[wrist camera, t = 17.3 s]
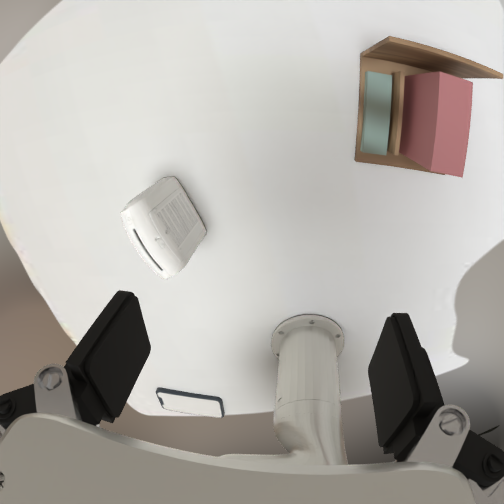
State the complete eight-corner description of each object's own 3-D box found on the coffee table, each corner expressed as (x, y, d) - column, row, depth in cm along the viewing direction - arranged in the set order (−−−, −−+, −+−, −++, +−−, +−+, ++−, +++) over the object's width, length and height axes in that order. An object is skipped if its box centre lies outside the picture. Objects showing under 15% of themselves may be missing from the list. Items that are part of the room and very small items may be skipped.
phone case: (222, 394, 63) (156, 385, 65) (220, 400, 62) (154, 390, 63) (225, 413, 67) (164, 404, 69) (224, 418, 66) (162, 409, 68)
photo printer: (151, 184, 41) (105, 217, 30) (174, 170, 39) (132, 200, 29) (187, 243, 45) (155, 292, 34) (211, 232, 43) (184, 281, 33)
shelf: (441, 173, 34) (487, 203, 24) (354, 160, 36) (379, 186, 25) (451, 75, 28) (503, 74, 17) (360, 53, 29) (389, 36, 19)
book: (425, 156, 33) (462, 177, 24) (398, 152, 33) (430, 171, 25) (432, 83, 28) (472, 82, 20) (404, 76, 29) (439, 71, 20)
